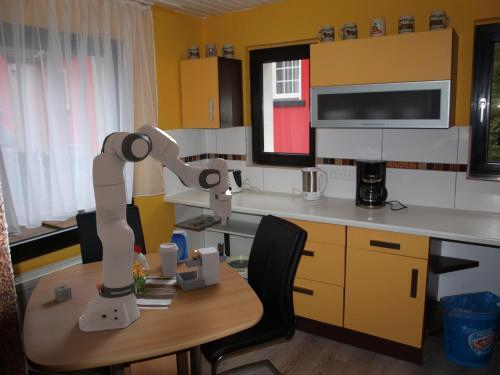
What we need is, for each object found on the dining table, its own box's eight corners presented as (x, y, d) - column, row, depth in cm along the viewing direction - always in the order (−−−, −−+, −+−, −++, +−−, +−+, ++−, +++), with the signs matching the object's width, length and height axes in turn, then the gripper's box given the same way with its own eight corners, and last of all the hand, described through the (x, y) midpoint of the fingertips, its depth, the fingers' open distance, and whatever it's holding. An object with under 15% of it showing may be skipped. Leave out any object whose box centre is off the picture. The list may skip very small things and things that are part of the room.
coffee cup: (183, 273, 207) (182, 244, 204) (170, 280, 199) (168, 249, 197) (169, 269, 212) (167, 241, 210) (155, 276, 204) (153, 246, 202)
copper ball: (191, 260, 190) (191, 252, 189) (189, 258, 193) (188, 249, 193) (200, 259, 191) (199, 251, 191) (197, 256, 195) (197, 248, 194)
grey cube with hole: (66, 295, 184) (65, 284, 183) (71, 298, 181) (70, 287, 180) (55, 299, 181) (54, 288, 180) (60, 302, 177) (59, 291, 176)
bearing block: (203, 285, 192) (202, 254, 189) (198, 279, 199) (197, 249, 196) (220, 282, 195) (219, 251, 192) (214, 276, 202) (213, 246, 200)
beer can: (170, 262, 222) (168, 233, 220) (175, 257, 231) (174, 229, 228) (185, 263, 221) (184, 234, 218) (190, 258, 229) (189, 229, 226)
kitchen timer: (142, 280, 200) (140, 249, 197) (115, 278, 203) (113, 248, 200) (154, 269, 213) (152, 241, 211) (129, 268, 216) (127, 239, 213)
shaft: (187, 267, 190) (186, 249, 188) (185, 265, 193) (184, 247, 192) (226, 261, 197) (225, 244, 195) (223, 258, 200) (222, 241, 199)
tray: (183, 291, 186) (183, 283, 185) (176, 281, 197) (175, 273, 197) (205, 287, 190) (204, 279, 189) (196, 277, 201) (196, 269, 201)
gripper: (205, 190, 200) (206, 218, 203) (220, 197, 182) (221, 228, 184) (218, 188, 203) (219, 216, 205) (233, 196, 184) (234, 226, 187)
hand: (220, 222), depth 195 cm, fingers open, 8 cm apart
